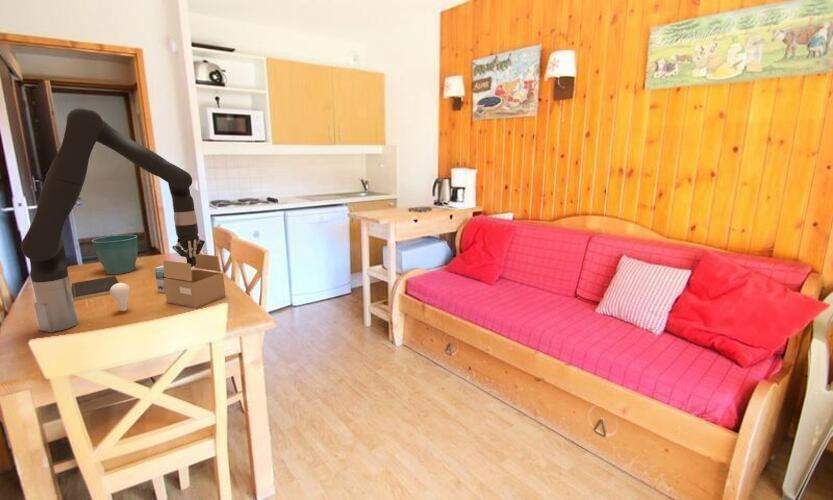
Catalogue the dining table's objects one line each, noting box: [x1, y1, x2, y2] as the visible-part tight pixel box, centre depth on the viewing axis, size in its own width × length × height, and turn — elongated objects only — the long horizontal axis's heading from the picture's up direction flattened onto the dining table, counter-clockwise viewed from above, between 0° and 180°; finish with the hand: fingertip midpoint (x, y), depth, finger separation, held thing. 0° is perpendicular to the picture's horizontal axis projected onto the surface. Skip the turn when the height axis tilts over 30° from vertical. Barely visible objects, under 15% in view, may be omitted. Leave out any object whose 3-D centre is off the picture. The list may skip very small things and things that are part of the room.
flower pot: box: [91, 234, 139, 275], centre depth 201 cm, size 18×18×17 cm
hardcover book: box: [71, 275, 119, 301], centre depth 177 cm, size 16×23×2 cm
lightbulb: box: [109, 282, 131, 312], centre depth 151 cm, size 6×6×11 cm
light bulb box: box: [154, 265, 167, 293], centre depth 176 cm, size 11×7×11 cm, turn 168°
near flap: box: [162, 259, 192, 281], centre depth 155 cm, size 6×14×1 cm
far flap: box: [193, 253, 222, 272], centre depth 166 cm, size 6×14×1 cm
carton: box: [163, 268, 227, 309], centre depth 163 cm, size 14×16×10 cm
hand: (192, 266), depth 161 cm, fingers closed
